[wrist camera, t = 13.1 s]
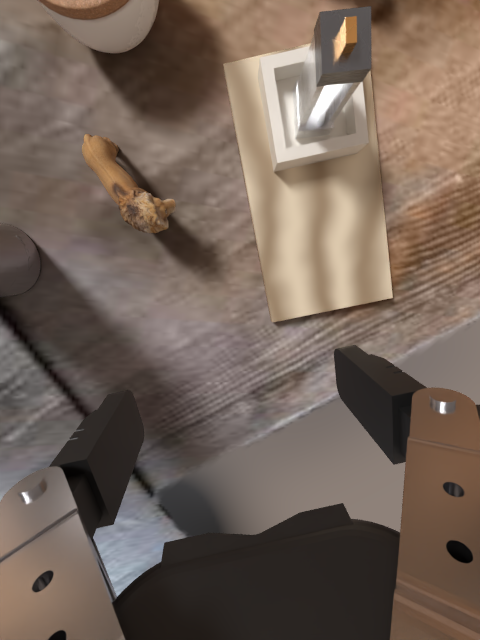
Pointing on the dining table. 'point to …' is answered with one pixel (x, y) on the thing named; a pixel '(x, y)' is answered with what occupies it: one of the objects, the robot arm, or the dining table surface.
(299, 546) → the robot arm
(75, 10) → the lidded bowl
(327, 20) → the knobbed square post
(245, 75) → the board
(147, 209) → the lion figurine
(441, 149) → the dining table surface
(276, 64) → the box
